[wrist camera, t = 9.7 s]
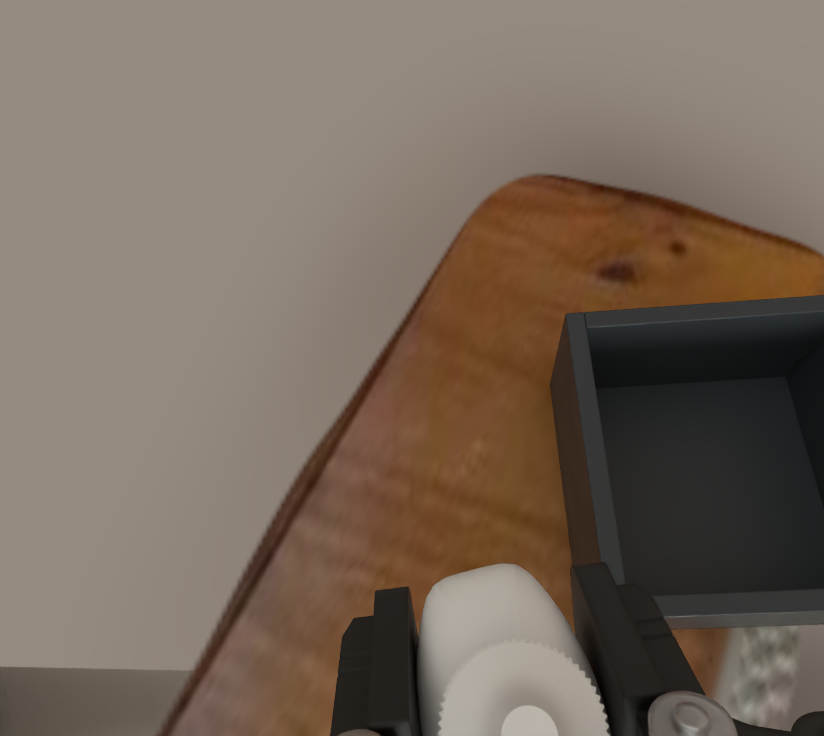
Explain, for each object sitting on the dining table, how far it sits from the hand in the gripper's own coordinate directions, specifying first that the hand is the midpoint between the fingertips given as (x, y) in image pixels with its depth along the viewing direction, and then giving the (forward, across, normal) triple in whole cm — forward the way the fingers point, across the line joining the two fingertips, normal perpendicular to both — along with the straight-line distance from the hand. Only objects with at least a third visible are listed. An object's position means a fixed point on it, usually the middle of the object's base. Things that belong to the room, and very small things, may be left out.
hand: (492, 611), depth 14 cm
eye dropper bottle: (+3, 0, +6) cm, 7 cm away
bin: (+17, -11, +9) cm, 22 cm away
